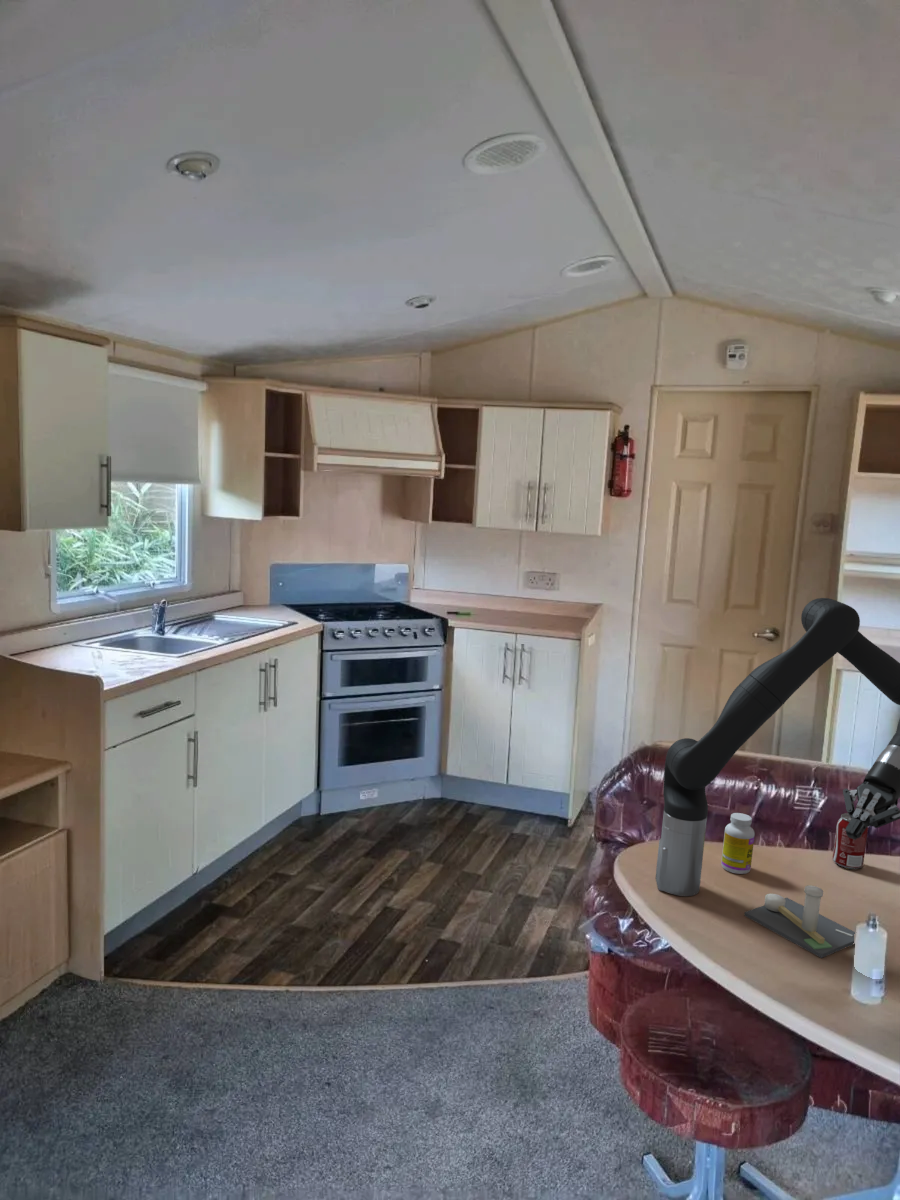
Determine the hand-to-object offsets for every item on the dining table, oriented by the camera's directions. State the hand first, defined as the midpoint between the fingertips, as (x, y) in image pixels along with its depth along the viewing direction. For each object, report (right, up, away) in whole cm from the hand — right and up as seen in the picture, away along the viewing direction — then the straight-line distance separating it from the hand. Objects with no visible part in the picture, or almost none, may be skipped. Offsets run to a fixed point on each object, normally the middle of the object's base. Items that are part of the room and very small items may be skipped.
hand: (850, 836), depth 179 cm
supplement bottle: (-15, -15, +25) cm, 33 cm away
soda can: (+13, -15, +31) cm, 37 cm away
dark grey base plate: (-10, -19, -1) cm, 21 cm away
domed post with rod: (-12, -17, -1) cm, 21 cm away
